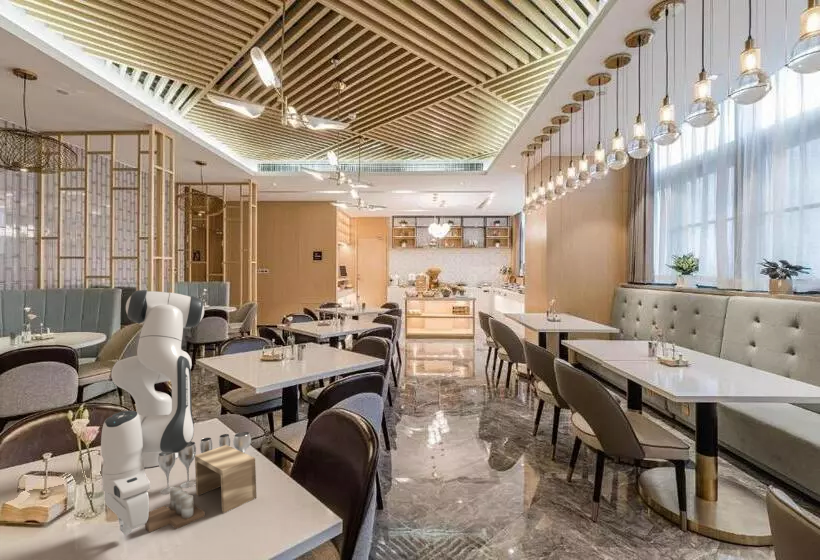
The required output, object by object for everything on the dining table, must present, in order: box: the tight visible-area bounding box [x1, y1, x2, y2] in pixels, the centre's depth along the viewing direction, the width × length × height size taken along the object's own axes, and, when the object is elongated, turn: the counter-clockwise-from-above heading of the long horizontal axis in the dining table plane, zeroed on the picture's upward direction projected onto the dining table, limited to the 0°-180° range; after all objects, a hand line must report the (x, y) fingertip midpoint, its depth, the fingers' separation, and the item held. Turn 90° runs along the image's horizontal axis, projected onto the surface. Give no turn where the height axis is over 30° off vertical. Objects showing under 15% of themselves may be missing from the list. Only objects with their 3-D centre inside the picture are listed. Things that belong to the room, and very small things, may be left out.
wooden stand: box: [194, 445, 257, 514], centre depth 130 cm, size 17×10×12 cm, turn 51°
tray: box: [144, 486, 206, 533], centre depth 118 cm, size 11×12×6 cm
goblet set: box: [158, 431, 252, 495], centre depth 141 cm, size 28×6×13 cm, turn 127°
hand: (126, 531), depth 109 cm, fingers closed
